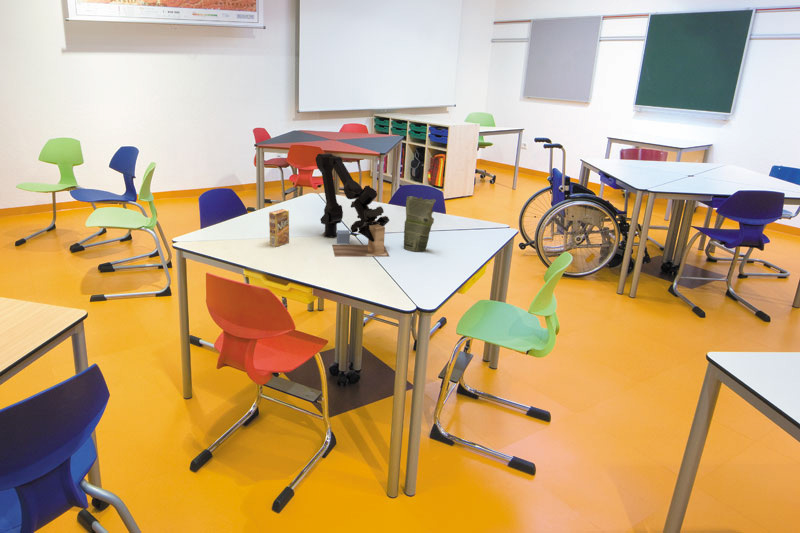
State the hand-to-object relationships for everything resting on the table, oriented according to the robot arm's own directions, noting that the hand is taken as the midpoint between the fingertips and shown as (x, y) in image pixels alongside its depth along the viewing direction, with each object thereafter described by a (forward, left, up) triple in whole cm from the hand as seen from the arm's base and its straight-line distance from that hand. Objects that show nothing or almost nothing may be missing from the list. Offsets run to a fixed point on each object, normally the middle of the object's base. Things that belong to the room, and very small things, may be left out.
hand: (378, 240), depth 246 cm
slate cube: (-17, -14, -7) cm, 23 cm away
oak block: (-1, -1, -6) cm, 6 cm away
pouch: (-7, +19, -7) cm, 22 cm away
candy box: (-15, -43, -7) cm, 46 cm away
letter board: (-4, -7, -7) cm, 11 cm away
